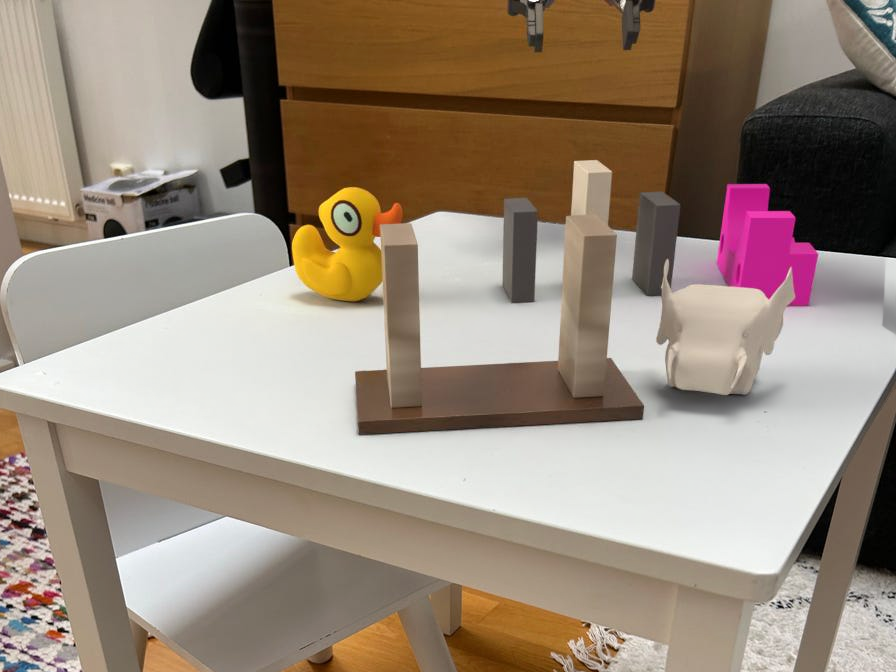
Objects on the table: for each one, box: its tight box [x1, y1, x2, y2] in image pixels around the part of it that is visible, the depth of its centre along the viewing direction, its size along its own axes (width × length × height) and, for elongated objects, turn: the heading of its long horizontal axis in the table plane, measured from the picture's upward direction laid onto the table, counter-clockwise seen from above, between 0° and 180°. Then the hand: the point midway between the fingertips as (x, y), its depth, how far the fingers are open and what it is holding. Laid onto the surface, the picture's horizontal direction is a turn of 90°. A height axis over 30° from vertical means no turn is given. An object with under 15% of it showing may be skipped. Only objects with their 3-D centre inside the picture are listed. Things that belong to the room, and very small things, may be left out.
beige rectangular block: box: [570, 159, 613, 226], centre depth 93 cm, size 2×6×11 cm, turn 4°
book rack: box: [354, 215, 645, 435], centre depth 70 cm, size 20×10×12 cm, turn 94°
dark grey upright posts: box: [501, 191, 681, 304], centre depth 94 cm, size 15×6×8 cm, turn 94°
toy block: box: [716, 183, 819, 307], centre depth 94 cm, size 15×6×8 cm, turn 173°
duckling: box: [291, 186, 404, 302], centre depth 93 cm, size 11×5×10 cm, turn 67°
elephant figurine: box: [655, 259, 795, 396], centre depth 71 cm, size 10×12×9 cm
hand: (584, 45), depth 94 cm, fingers open, 8 cm apart
